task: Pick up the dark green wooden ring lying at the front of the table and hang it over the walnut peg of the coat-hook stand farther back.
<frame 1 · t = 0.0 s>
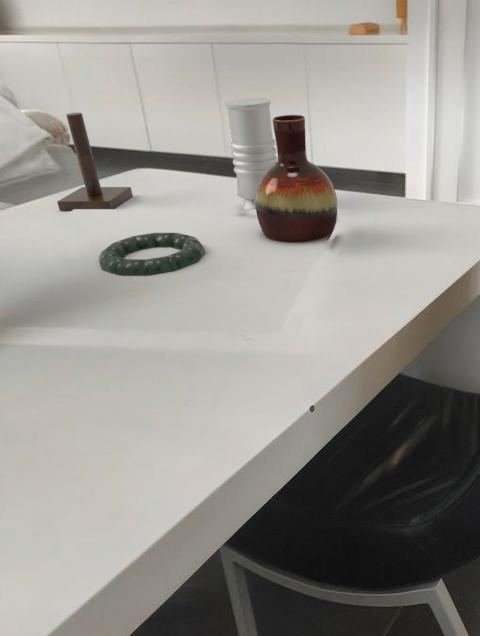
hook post: (97, 203, 116), on the table
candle: (260, 207, 111), on the table
vase: (300, 242, 96), on the table
ring: (153, 256, 88), point 1 cm above the table
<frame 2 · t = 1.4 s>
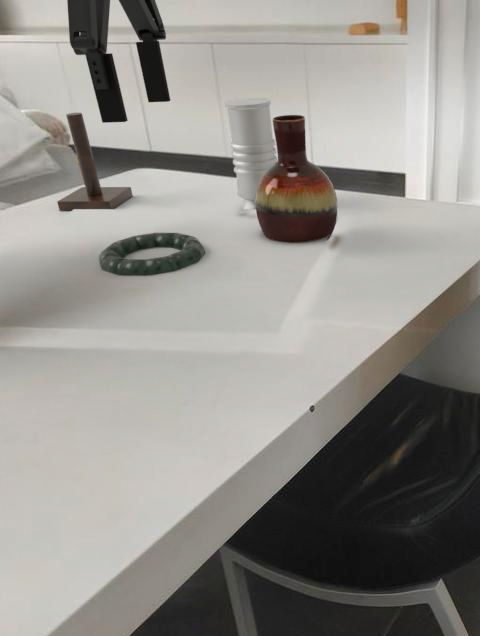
hand: (138, 111, 83), 17 cm above the table, tool pointing down, fingers open, 13 cm apart
nothing on the table moved.
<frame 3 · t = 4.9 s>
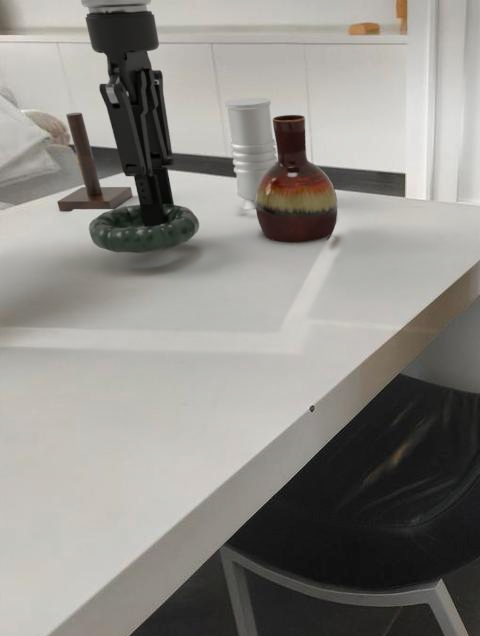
hand: (161, 223, 91), 4 cm above the table, tool pointing down, fingers closed on ring, 3 cm apart
ring: (144, 227, 86), point 5 cm above the table, touching gripper
everything else where it was.
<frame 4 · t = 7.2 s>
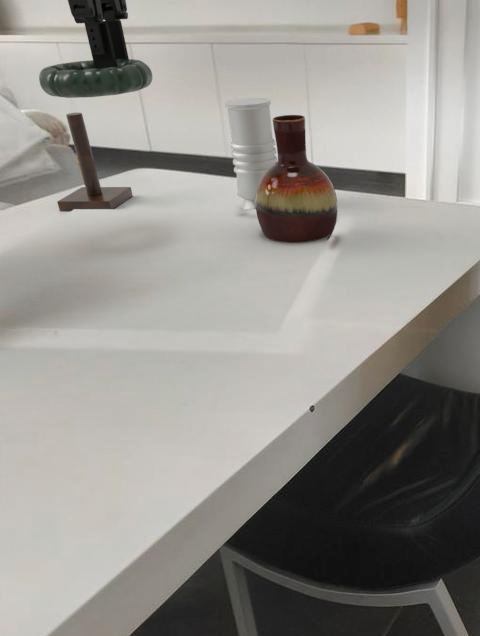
hand: (116, 81, 89), 20 cm above the table, tool pointing down, fingers closed on ring, 3 cm apart
ring: (96, 77, 84), point 21 cm above the table, touching gripper
everything else where it was.
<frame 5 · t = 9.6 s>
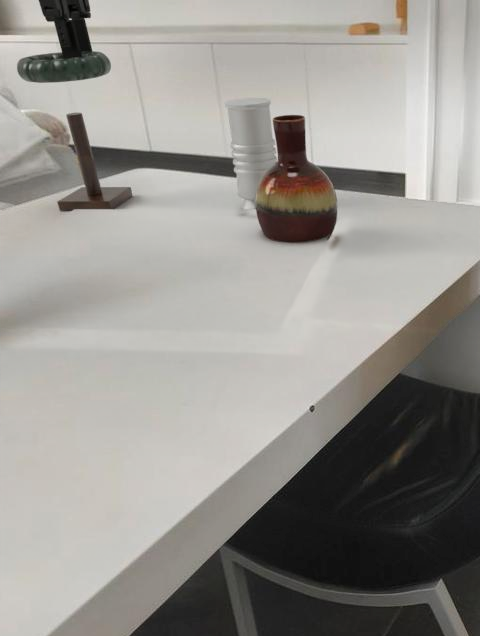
hand: (81, 70, 107), 19 cm above the table, tool pointing down, fingers closed on ring, 3 cm apart
ring: (64, 66, 102), point 20 cm above the table, touching gripper
everything else where it was.
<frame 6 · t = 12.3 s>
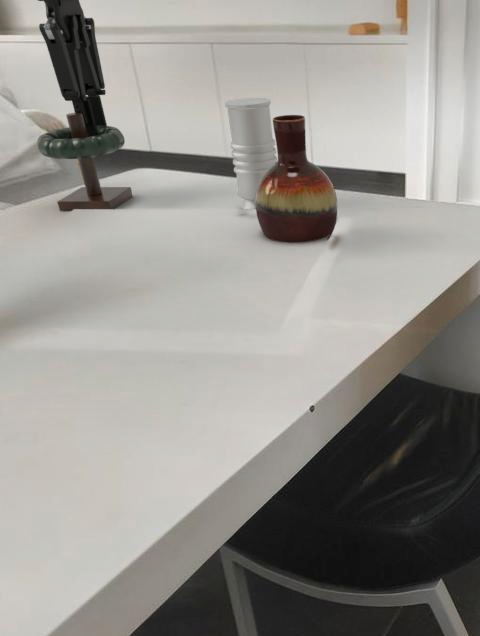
hand: (96, 142, 115), 8 cm above the table, tool pointing down, fingers closed on ring, 3 cm apart
ring: (81, 141, 110), point 9 cm above the table, touching gripper
everything else where it was.
when the fingers open (9 cm above the table, at t = 14.7 s): ring drops 7 cm, resting on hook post.
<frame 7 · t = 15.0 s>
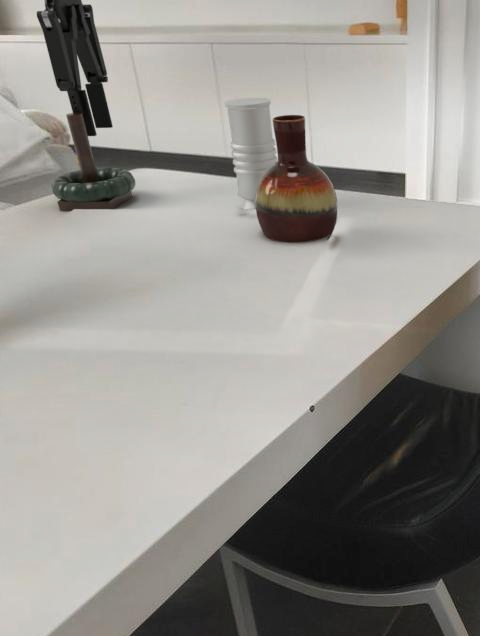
hand: (96, 131, 114), 10 cm above the table, tool pointing down, fingers open, 6 cm apart
ring: (93, 184, 114), point 3 cm above the table, touching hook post
everything else where it was.
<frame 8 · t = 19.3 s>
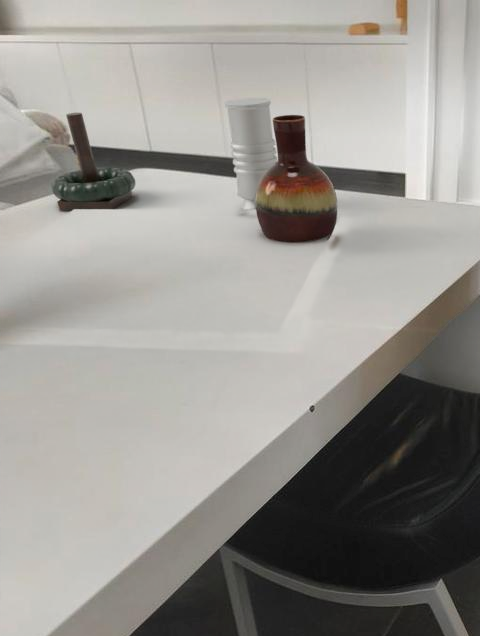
nothing on the table moved.
at the end: ring 0.5 cm off-centre on the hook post, point 2.9 cm above the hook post's base; the gripper is holding nothing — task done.
